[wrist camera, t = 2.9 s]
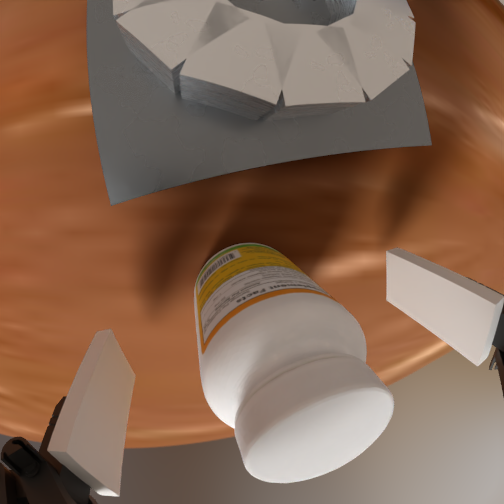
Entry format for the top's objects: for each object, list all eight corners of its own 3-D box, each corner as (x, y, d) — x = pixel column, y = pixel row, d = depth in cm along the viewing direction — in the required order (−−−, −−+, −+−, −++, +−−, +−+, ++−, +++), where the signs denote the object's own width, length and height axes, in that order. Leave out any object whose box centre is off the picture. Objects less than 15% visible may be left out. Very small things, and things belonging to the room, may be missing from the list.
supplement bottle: (284, 335, 16) (368, 470, 6) (190, 333, 14) (208, 501, 5) (303, 245, 14) (447, 344, 5) (199, 234, 13) (224, 371, 4)
